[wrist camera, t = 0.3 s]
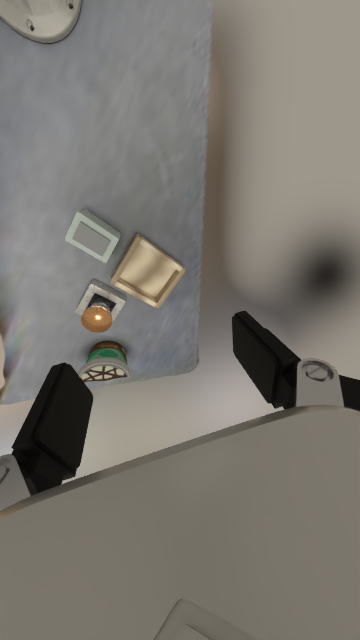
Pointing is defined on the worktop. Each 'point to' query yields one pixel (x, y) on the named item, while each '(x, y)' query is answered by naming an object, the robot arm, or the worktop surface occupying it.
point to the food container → (105, 363)
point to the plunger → (97, 316)
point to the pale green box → (92, 235)
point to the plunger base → (105, 292)
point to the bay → (147, 272)
